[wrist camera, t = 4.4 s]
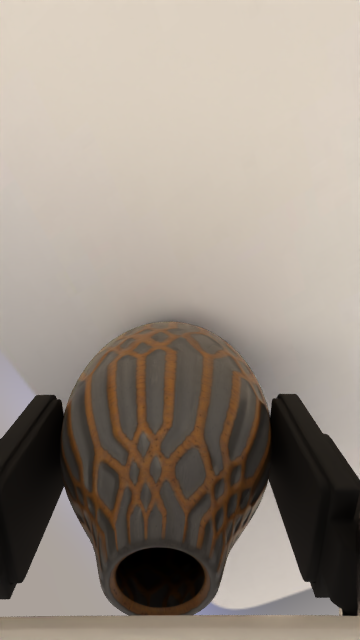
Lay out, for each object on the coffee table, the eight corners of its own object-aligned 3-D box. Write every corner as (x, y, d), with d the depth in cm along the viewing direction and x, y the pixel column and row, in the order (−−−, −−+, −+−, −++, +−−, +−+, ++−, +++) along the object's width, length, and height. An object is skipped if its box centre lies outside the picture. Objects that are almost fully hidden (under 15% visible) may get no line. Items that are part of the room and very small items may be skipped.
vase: (71, 327, 14) (-90, 493, 6) (225, 282, 13) (302, 392, 5) (124, 453, 16) (66, 711, 8) (260, 418, 15) (356, 657, 7)
